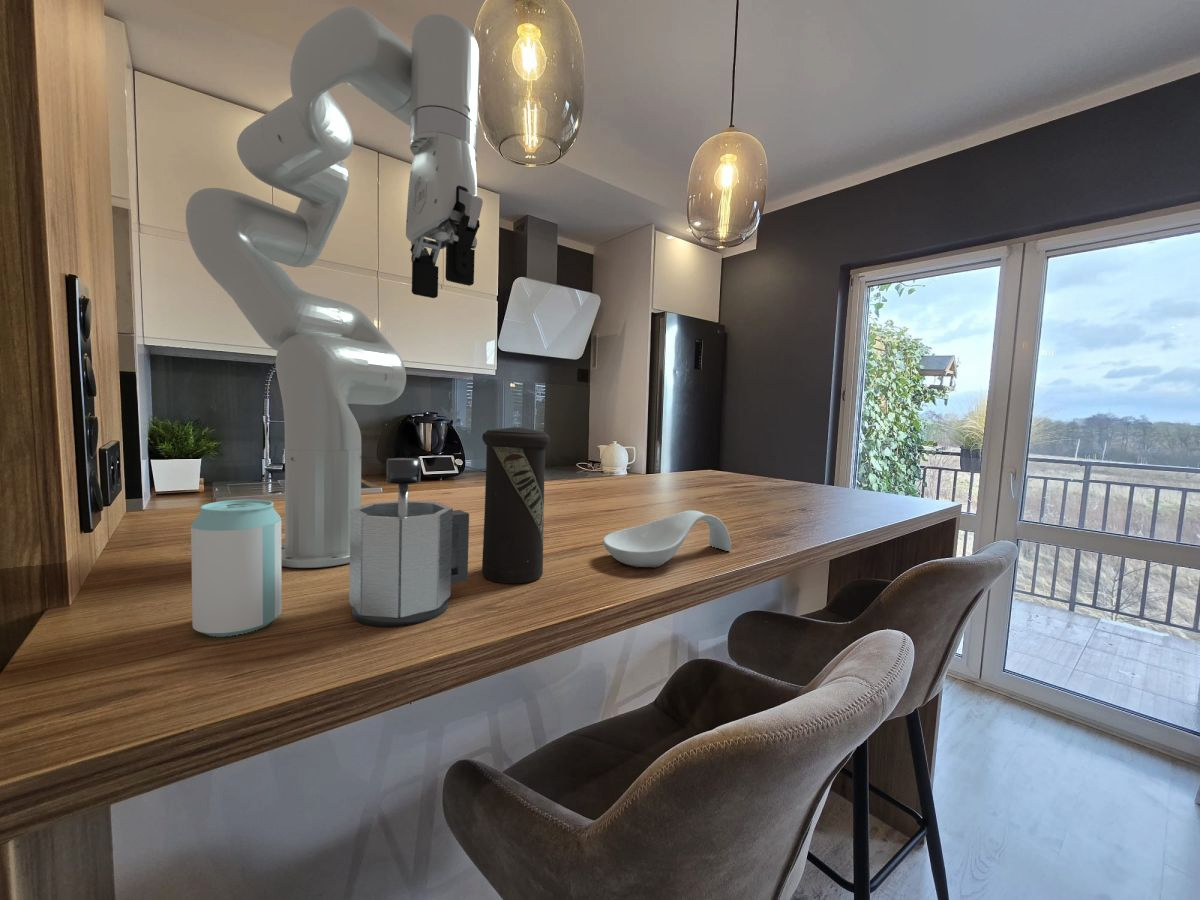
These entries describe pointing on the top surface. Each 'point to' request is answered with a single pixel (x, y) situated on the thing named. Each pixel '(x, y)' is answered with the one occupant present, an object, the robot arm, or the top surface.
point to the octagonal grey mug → (405, 561)
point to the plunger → (403, 479)
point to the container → (514, 505)
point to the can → (235, 567)
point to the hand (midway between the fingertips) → (441, 289)
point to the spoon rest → (662, 539)
